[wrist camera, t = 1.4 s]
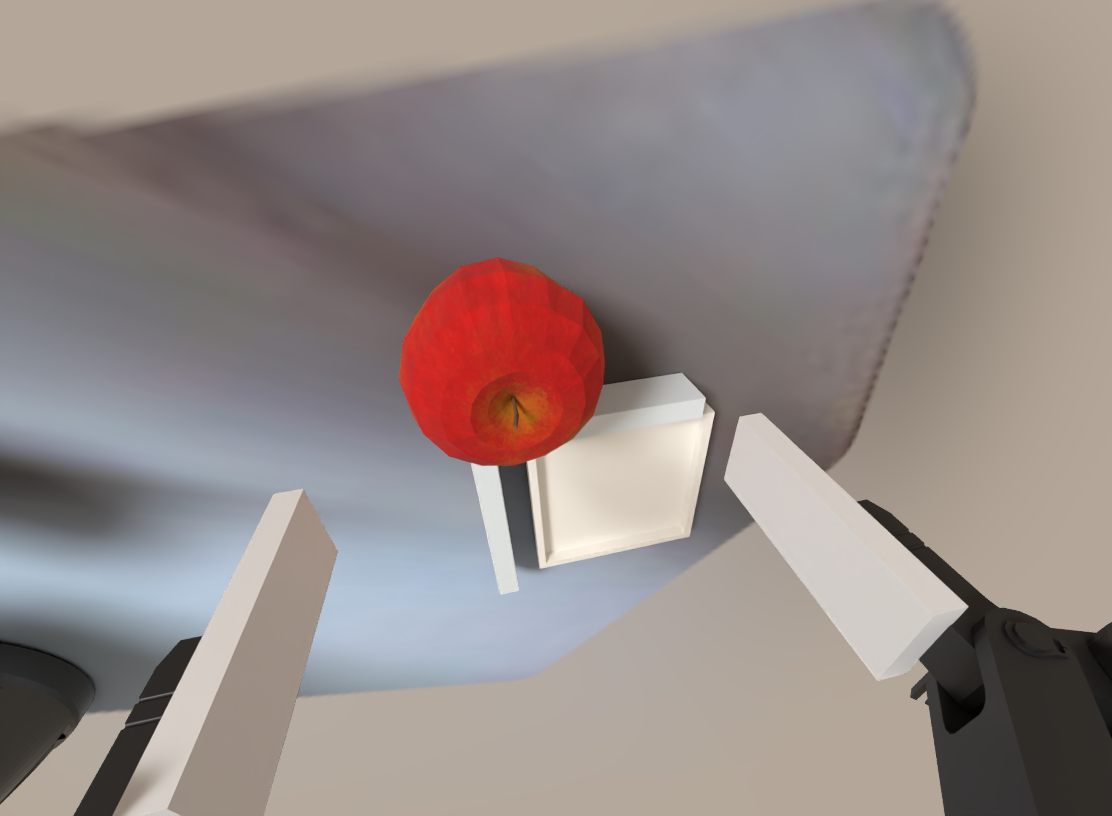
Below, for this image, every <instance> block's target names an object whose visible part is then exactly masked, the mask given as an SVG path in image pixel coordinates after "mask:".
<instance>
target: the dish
mask: <svg viewBox="0 0 1112 816" xmlns="http://www.w3.org/2000/svg"><path fill="white" fill-rule="evenodd" d="M714 414H715V412H714V411H713V410H712V408H711V407H710V406H709V405H708V404H707V403H706V402H705V405H704V410H703V416H702V418H696V419H690V420H685V421H679V422H673V423H667V424H661V425H655V426H650V427H644V428H638V429H632V430H626V431H621V432H615V433H609V434H603V435H597V436H591V437H586V438H580V439H574V440H570V441H569V442H567V443H565V444H564V445H562V446H560V447H559V448H557V449H555V450H554V451H552V452H550V453H549V454H547V455H545V456H542V457H539V458H536V459H533V460H530V461H527V462H526V468H527V476H528V485H529V493H530V501H531V509H532V518H533V526H534V534H535V543H536V551H537V556H538V561H539V566H540V569H541V568H546V567H550V566H555V565H560V564H564V563H569V562H574V561H578V560H583V559H588V558H592V557H597V556H602V555H606V554H611V553H615V552H620V551H625V550H629V549H634V548H639V547H643V546H648V545H653V544H657V543H662V542H667V541H671V540H676V539H681V538H685V537H690V532H691V527H692V522H693V517H694V512H695V507H696V502H697V497H698V492H699V488H700V483H701V478H702V473H703V468H704V463H705V458H706V453H707V448H708V443H709V439H710V434H711V429H712V424H713V419H714Z"/></svg>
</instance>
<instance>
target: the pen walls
mask: <svg viewBox="0 0 1112 816" xmlns="http://www.w3.org/2000/svg"><path fill="white" fill-rule="evenodd" d="M705 399H706V398H705V397H704V396H703V394H702V393H701V392H700V391H699V390H698V389H697V388H696V387H695V386H694V385H693V384H692V383H691V382H690V381H689V380H688V379H687V378H686V377H685V376H684V375H683V373H677V374H671V375H664V376H658V377H651V378H645V379H638V380H632V381H625V382H619V383H612V384H606V385H603V387H602V390H601V393H600V396H599V400H598V403H597V406H596V409H595V412H594V416H593V417H592V418H591V419H590V420H589V421H588V422H587V424H586V425H585V426H584V427H583V428H582V429H581V430H580V431H579V433H578V434H577V435H576V436H575V437H574V438H573V439H572V440H574V439H580V438H586V437H591V436H597V435H603V434H609V433H615V432H621V431H626V430H632V429H638V428H644V427H650V426H655V425H661V424H667V423H673V422H679V421H685V420H690V419H696V418H702V416H703V410H704V405H705ZM471 465H472V470H473V474H474V479H475V483H476V488H477V492H478V497H479V502H480V506H481V511H482V515H483V520H484V524H485V529H486V533H487V538H488V542H489V547H490V551H491V556H492V561H493V565H494V570H495V574H496V579H497V583H498V588H499V592H500V595H501V594H506V593H510V592H515V591H519V587H518V581H517V574H516V567H515V560H514V554H513V548H512V542H511V536H510V530H509V525H508V519H507V513H506V507H505V501H504V495H503V490H502V484H501V478H500V472H499V466H480V465H477V464H473V463H471Z"/></svg>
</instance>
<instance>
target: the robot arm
mask: <svg viewBox="0 0 1112 816" xmlns="http://www.w3.org/2000/svg"><path fill="white" fill-rule="evenodd" d="M724 480H725V481H726V483H727V484H728V485H729V487H730V488H731V489H732V491H733V492H734V493H735V494H736V496H737V497H738V498H739V500H740V501H741V502H742V504H743V505H744V506H745V508H746V509H747V510H748V512H749V513H750V514H751V516H752V517H753V518H754V519H755V521H756V522H757V523H758V524H759V526H760V527H761V528H762V530H763V531H764V533H765V534H766V535H767V537H768V538H769V539H770V540H771V541H772V543H773V544H774V546H775V547H776V548H777V550H778V551H779V552H780V553H781V555H782V556H783V557H784V559H785V560H786V561H787V563H788V564H789V565H790V567H791V568H792V569H793V571H794V572H795V573H796V575H797V576H798V577H799V579H800V580H801V581H802V583H803V584H804V585H805V586H806V588H807V589H808V590H809V592H810V593H811V594H812V596H813V597H814V598H815V600H816V601H817V602H818V603H819V605H820V606H821V607H822V609H823V610H824V611H825V613H826V614H827V615H828V617H829V618H830V619H831V621H832V622H833V623H834V625H835V626H836V627H837V628H838V630H839V631H840V632H841V634H842V635H843V636H844V638H845V639H846V640H847V642H848V643H849V644H850V646H851V647H852V648H853V649H854V651H855V652H856V653H857V655H858V656H859V657H860V658H861V660H862V661H863V663H864V664H865V665H866V667H867V668H868V669H869V671H870V672H871V673H872V674H873V676H874V677H875V678H876V680H877V681H879V680H883V679H886V678H890V677H894V676H897V675H901V674H905V673H907V672H908V671H909V670H910V669H911V668H912V667H913V666H914V665H915V664H916V663H917V661H918V660H920V662H922V664H923V665H924V666H925V667H926V668H927V669H928V671H929V672H928V673H927V674H926V675H925V676H924V677H923V678H922V679H921V680H920V681H919V682H918V683H917V684H916V685H915V686H914V687H913V688H912V689H911V696H910V697H911V698H913V699H915V700H917V699H918V698H919V697H920V696H921V695H922V694H923V693H924V692H925V691H926V690H927V697H928V699H927V700H926V702H925V704H927V705H929V710H930V717H931V724H932V731H933V738H934V744H935V751H936V758H937V765H938V772H939V778H940V785H941V792H942V798H943V805H944V812H945V816H1112V622H1111V623H1109V624H1108V625H1106V626H1105V627H1104V628H1102V629H1101V630H1100V631H1098V632H1097V633H1092V632H1083V631H1074V630H1065V629H1055V628H1050V627H1048V626H1047V625H1045V624H1044V623H1042V622H1041V621H1039V620H1037V619H1036V618H1034V617H1031V616H1029V615H1027V614H1025V613H1022V612H1020V611H1016V610H1012V609H1007V608H999V607H997V606H996V605H994V604H993V603H992V602H990V601H989V600H988V599H987V598H985V597H984V596H983V595H982V594H981V593H980V592H979V591H978V590H976V589H975V588H974V587H973V586H972V585H971V584H970V583H969V582H967V581H966V580H965V579H964V578H963V577H962V576H961V575H960V574H958V573H957V572H956V571H955V570H954V569H953V568H952V567H951V566H949V565H948V564H947V563H946V562H945V561H944V560H943V559H942V558H940V557H939V556H938V555H937V554H936V553H935V552H934V551H932V550H931V549H930V548H929V547H926V546H925V545H924V542H922V541H921V540H920V539H919V538H918V537H917V536H916V535H915V534H913V533H910V532H909V530H908V528H907V527H906V526H904V525H903V524H902V523H901V522H900V521H899V520H898V519H896V518H895V517H894V516H893V515H892V514H891V513H889V512H888V511H886V510H884V509H883V508H881V507H879V506H877V505H875V504H874V503H872V502H870V501H868V500H862V501H858V502H856V501H855V500H854V499H853V498H852V497H851V496H850V495H849V494H848V493H847V492H845V491H844V490H843V489H842V488H841V487H840V486H839V485H838V484H837V483H836V482H835V481H834V480H833V479H831V478H830V477H829V476H828V475H827V474H826V473H825V472H824V471H823V470H822V469H821V468H820V467H819V466H818V465H817V464H815V463H814V462H813V461H812V460H811V459H810V458H809V457H808V456H807V455H806V454H805V453H804V452H803V451H802V450H801V449H799V448H798V447H797V446H796V445H795V444H794V443H793V442H792V441H791V440H790V439H789V438H788V437H787V436H786V435H784V434H783V433H782V432H781V431H780V430H779V429H778V428H777V427H776V426H775V425H774V424H773V423H772V422H771V421H769V420H768V419H767V418H766V417H765V416H764V415H763V414H762V413H759V414H753V415H747V416H741V417H739V421H738V425H737V429H736V433H735V437H734V441H733V445H732V449H731V453H730V457H729V461H728V465H727V469H726V473H725V477H724ZM337 553H338V550H337V549H336V547H335V545H334V543H333V541H332V540H331V538H330V536H329V534H328V532H327V531H326V529H325V527H324V525H323V523H322V522H321V520H320V518H319V516H318V514H317V513H316V511H315V509H314V507H313V505H312V504H311V502H310V500H309V498H308V496H307V495H306V493H305V491H304V489H300V490H294V491H288V492H282V493H276V494H273V496H272V498H271V500H270V502H269V504H268V506H267V508H266V510H265V512H264V514H263V516H262V518H261V520H260V522H259V524H258V526H257V528H256V530H255V532H254V534H253V536H252V538H251V540H250V542H249V544H248V546H247V548H246V550H245V552H244V554H243V556H242V558H241V560H240V562H239V564H238V566H237V568H236V570H235V572H234V574H233V576H232V578H231V580H230V582H229V584H228V586H227V588H226V590H225V592H224V594H223V596H222V598H221V600H220V602H219V604H218V606H217V608H216V610H215V612H214V614H213V616H212V618H211V620H210V622H209V624H208V626H207V628H206V630H205V632H204V634H203V636H200V637H195V638H190V639H186V640H181V641H180V642H179V643H178V644H177V645H176V646H175V647H174V648H173V650H172V651H171V652H170V653H169V654H168V655H167V656H166V657H165V658H164V660H163V661H162V662H161V663H160V664H159V665H158V666H157V667H156V669H155V670H154V672H153V674H152V676H151V678H150V679H149V681H148V683H147V685H146V687H145V688H144V690H143V692H142V694H141V696H140V697H139V699H140V701H139V703H138V704H135V706H134V708H133V710H132V712H131V714H130V715H129V717H128V719H127V721H126V723H125V724H126V726H125V728H124V729H123V730H121V731H120V733H119V735H118V737H117V739H116V740H115V742H114V744H113V746H112V747H111V749H110V751H109V753H108V755H107V757H106V759H105V760H104V762H103V764H102V765H101V767H100V769H99V771H98V773H97V774H96V776H95V778H94V780H93V782H92V783H91V785H90V787H89V789H88V790H87V792H86V794H85V796H84V798H83V799H82V801H81V803H80V805H79V807H78V808H77V810H76V812H75V814H74V816H263V815H264V812H265V808H266V805H267V801H268V797H269V794H270V791H271V787H272V783H273V780H274V776H275V773H276V769H277V766H278V762H279V759H280V755H281V751H282V748H283V745H284V741H285V738H286V734H287V730H288V727H289V723H290V720H291V716H292V712H293V709H294V705H295V702H296V698H297V695H298V691H299V688H300V684H301V681H302V677H303V674H304V670H305V666H306V663H307V659H308V656H309V652H310V649H311V645H312V642H313V638H314V635H315V631H316V627H317V624H318V620H319V617H320V613H321V610H322V606H323V603H324V599H325V595H326V592H327V588H328V585H329V581H330V578H331V574H332V571H333V567H334V564H335V560H336V556H337ZM94 695H95V691H94V687H93V684H92V682H91V681H90V680H89V678H88V677H87V676H86V675H85V674H84V673H82V672H81V671H80V670H78V669H77V668H75V667H74V666H72V665H70V664H68V663H66V662H64V661H62V660H60V659H57V658H55V657H52V656H50V655H47V654H44V653H41V652H37V651H34V650H30V649H26V648H22V647H17V646H12V645H7V644H1V643H0V804H1V803H2V802H3V801H4V800H5V799H6V798H7V797H8V796H9V795H10V794H11V793H12V792H13V791H14V790H15V789H16V788H17V787H18V786H19V785H20V784H21V783H22V782H23V781H24V780H25V779H26V778H27V777H28V776H29V775H30V774H31V773H32V772H33V771H34V770H35V769H36V768H37V767H38V765H39V764H40V763H41V762H42V761H43V760H44V759H45V758H46V757H47V755H48V754H49V753H50V752H51V751H52V750H53V749H54V748H56V747H57V746H59V745H60V744H61V743H62V742H64V741H65V739H66V738H67V737H68V736H69V735H70V734H71V733H72V732H73V731H74V729H75V728H76V726H77V725H78V723H79V722H80V720H81V718H82V717H83V716H84V714H85V712H86V711H87V709H88V708H89V706H90V704H91V703H92V701H93V699H94Z"/></svg>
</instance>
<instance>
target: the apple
mask: <svg viewBox="0 0 1112 816" xmlns="http://www.w3.org/2000/svg"><path fill="white" fill-rule="evenodd" d="M604 372H605V358H604V350H603V342H602V334H601V330H600V328H599V327H598V325H597V323H596V321H595V320H594V318H593V316H592V314H591V313H590V311H589V309H588V307H587V306H586V304H585V302H584V301H583V299H582V298H581V297H579V296H577V295H576V294H574V293H572V292H571V291H569V290H567V289H566V288H564V287H562V286H561V285H559V284H558V283H556V282H555V281H554V280H552V279H551V278H549V277H548V276H546V275H545V274H544V273H542V272H541V271H539V270H538V269H536V268H535V267H534V266H530V265H526V264H522V263H518V262H514V261H509V260H505V259H501V258H494V259H490V260H486V261H482V262H478V263H474V264H470V265H465V266H461V267H460V268H459V269H458V270H456V271H455V272H454V273H453V274H451V275H450V276H449V277H448V278H447V279H445V280H444V281H443V282H442V283H441V284H439V285H438V286H437V287H436V288H434V289H433V290H432V292H431V294H430V295H429V297H428V298H427V300H426V301H425V303H424V304H423V306H422V307H421V309H420V311H419V312H418V314H417V315H416V317H415V318H414V320H413V322H412V324H411V326H410V328H409V330H408V332H407V334H406V337H405V339H404V341H403V346H402V356H401V365H400V375H399V381H400V384H401V386H402V389H403V392H404V394H405V397H406V399H407V402H408V405H409V407H410V410H411V412H412V415H413V417H414V418H415V420H416V422H417V423H418V425H419V427H420V429H421V430H422V432H423V434H424V435H425V436H426V437H428V438H429V439H430V440H431V441H432V442H433V443H434V444H436V445H437V446H438V447H439V448H440V449H441V450H442V451H444V452H445V453H446V454H447V455H448V456H450V457H453V458H456V459H460V460H463V461H467V462H470V463H473V464H477V465H480V466H515V465H518V464H521V463H524V462H527V461H530V460H533V459H536V458H539V457H542V456H545V455H547V454H549V453H550V452H552V451H554V450H555V449H557V448H559V447H560V446H562V445H564V444H565V443H567V442H569V441H570V440H572V439H573V438H574V437H575V436H576V435H577V434H578V433H579V431H580V430H581V429H582V428H583V427H584V426H585V425H586V424H587V422H588V421H589V420H590V419H591V418H592V417H593V416H594V412H595V409H596V406H597V403H598V400H599V396H600V393H601V390H602V387H603V380H604Z"/></svg>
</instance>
